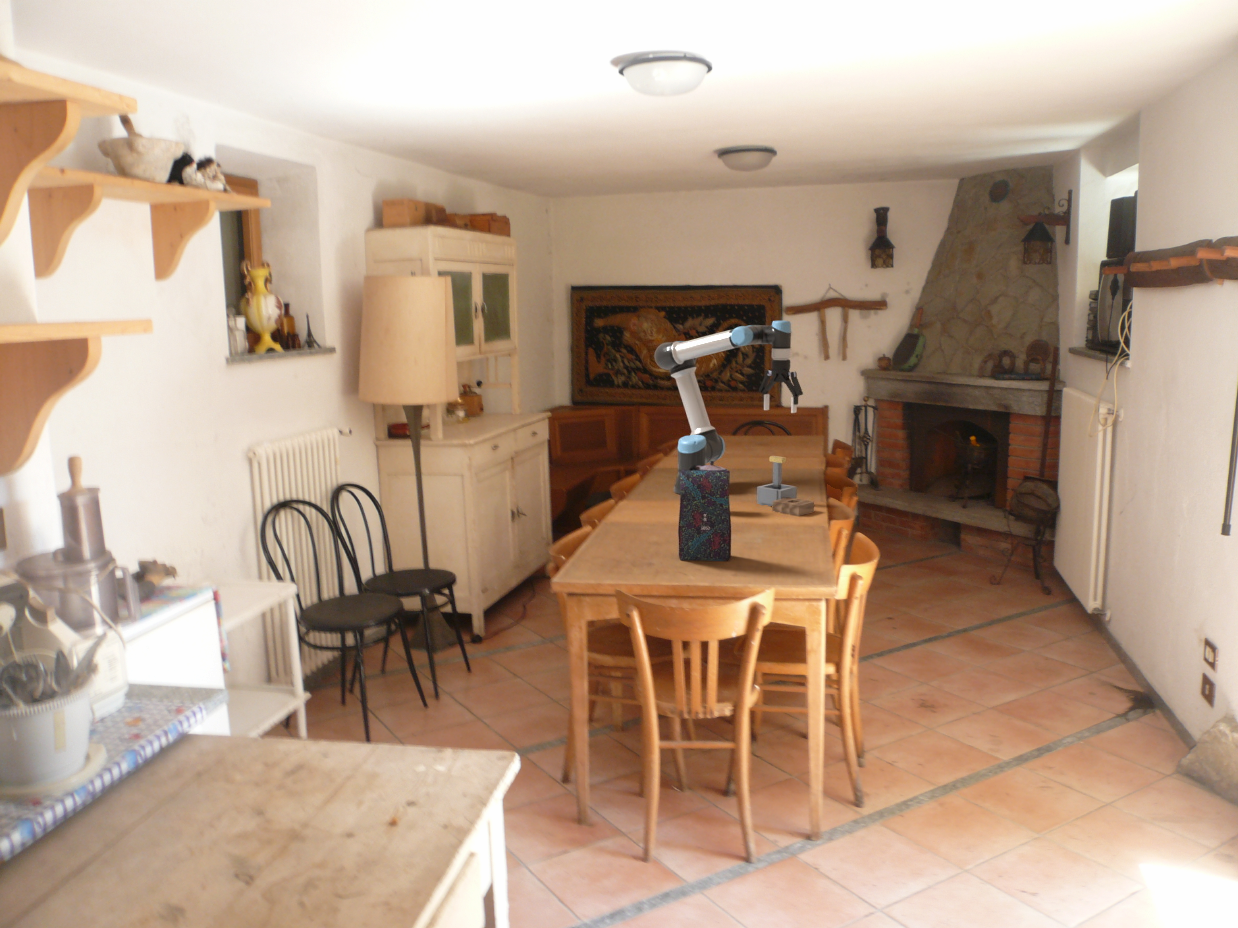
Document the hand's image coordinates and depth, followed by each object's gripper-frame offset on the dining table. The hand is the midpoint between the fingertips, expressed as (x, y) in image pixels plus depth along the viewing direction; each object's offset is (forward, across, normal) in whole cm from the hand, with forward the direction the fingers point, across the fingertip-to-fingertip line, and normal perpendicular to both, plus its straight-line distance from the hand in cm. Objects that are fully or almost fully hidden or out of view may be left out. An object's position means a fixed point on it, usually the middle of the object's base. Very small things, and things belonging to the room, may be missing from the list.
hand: (779, 411), depth 391 cm
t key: (+34, -10, +16) cm, 39 cm away
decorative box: (+35, -41, +95) cm, 109 cm away
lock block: (+35, -23, +22) cm, 47 cm away
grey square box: (+35, -10, +16) cm, 39 cm away
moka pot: (+35, 0, +45) cm, 57 cm away
